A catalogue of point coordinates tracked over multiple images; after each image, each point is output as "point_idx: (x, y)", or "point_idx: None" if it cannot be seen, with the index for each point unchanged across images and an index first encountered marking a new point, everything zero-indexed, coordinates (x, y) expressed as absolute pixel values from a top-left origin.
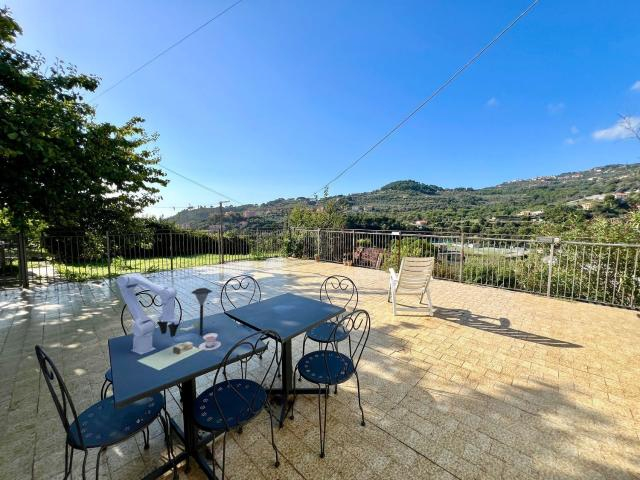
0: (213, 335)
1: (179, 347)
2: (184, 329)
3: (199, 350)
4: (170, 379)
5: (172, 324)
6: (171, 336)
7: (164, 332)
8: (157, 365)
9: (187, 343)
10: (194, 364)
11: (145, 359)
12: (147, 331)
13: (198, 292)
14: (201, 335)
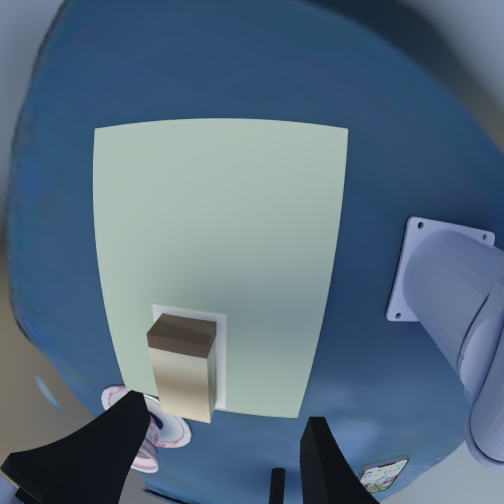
0: (142, 462)
1: (168, 357)
2: (385, 467)
3: (127, 378)
4: (24, 129)
5: (31, 496)
6: (127, 393)
7: (305, 442)
8: (147, 154)
9: (183, 406)
10: (40, 266)
11: (310, 169)
12: (501, 361)
13: None
14: (273, 469)
